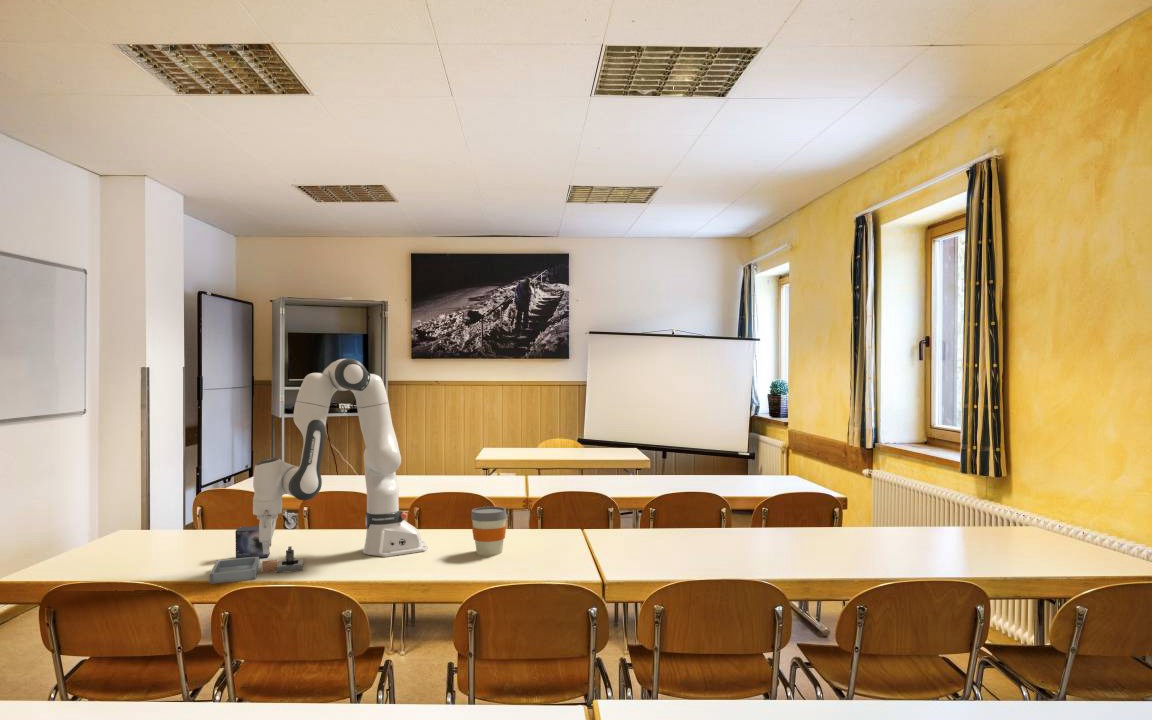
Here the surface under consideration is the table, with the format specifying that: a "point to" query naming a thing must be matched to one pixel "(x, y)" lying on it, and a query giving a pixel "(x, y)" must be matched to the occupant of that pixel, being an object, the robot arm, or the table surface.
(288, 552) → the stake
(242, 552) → the small box
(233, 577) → the tray
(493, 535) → the reusable coffee cup
